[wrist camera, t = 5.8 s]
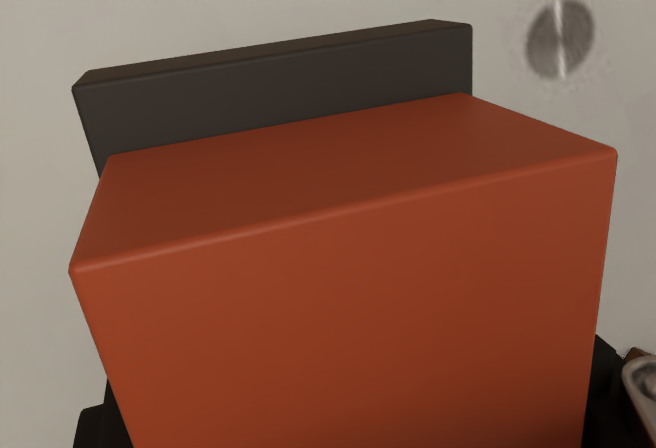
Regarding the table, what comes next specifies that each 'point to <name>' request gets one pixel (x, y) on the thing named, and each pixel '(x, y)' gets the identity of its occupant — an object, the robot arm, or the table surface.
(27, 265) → the table surface
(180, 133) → the shoe
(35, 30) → the table surface
